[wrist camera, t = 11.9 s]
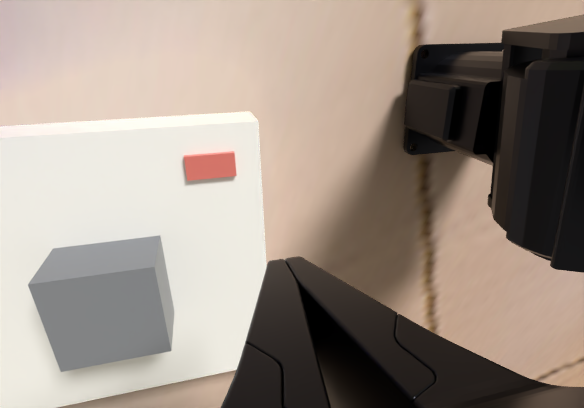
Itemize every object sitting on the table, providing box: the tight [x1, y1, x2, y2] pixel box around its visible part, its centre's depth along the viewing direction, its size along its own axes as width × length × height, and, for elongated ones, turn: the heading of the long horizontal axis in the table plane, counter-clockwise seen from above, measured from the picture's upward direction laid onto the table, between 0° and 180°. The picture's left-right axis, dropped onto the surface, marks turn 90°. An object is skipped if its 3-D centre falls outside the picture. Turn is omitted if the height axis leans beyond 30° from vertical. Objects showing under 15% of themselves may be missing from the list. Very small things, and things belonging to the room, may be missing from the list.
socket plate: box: [0, 111, 267, 408], centre depth 20 cm, size 16×16×3 cm
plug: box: [28, 235, 174, 372], centre depth 19 cm, size 5×5×6 cm
